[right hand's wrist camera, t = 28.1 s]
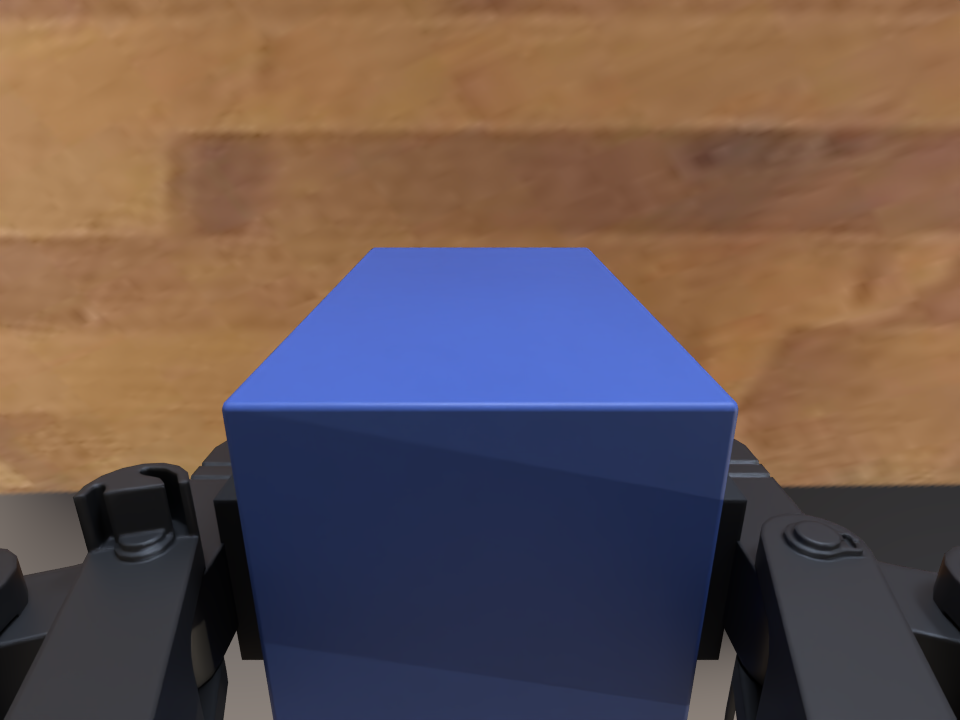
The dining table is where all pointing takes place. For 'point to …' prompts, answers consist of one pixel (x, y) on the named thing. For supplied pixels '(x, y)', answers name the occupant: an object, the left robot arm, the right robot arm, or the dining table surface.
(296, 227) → the dining table surface
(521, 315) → the brick
